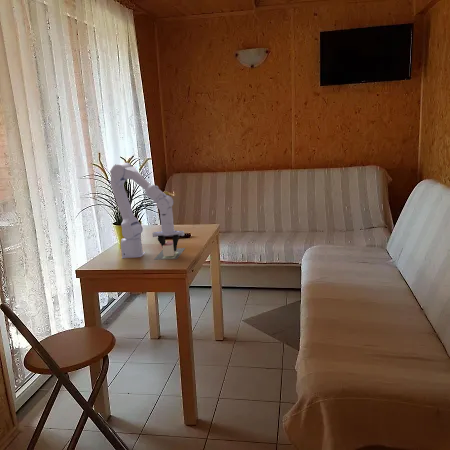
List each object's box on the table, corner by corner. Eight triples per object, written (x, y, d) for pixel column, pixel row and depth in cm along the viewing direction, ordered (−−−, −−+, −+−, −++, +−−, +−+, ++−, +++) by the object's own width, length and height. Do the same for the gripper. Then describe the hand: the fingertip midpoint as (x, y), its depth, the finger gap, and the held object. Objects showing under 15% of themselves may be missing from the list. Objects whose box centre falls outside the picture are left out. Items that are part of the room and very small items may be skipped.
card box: (167, 251, 211) (166, 241, 210) (177, 251, 210) (176, 240, 209) (163, 256, 203) (162, 245, 202) (173, 256, 202) (172, 245, 201)
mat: (153, 260, 202) (153, 259, 202) (163, 249, 219) (163, 248, 219) (177, 259, 200) (177, 258, 200) (185, 248, 218) (185, 247, 218)
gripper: (149, 225, 200) (152, 254, 203) (180, 223, 198) (183, 253, 201) (153, 221, 207) (156, 249, 210) (184, 220, 205) (186, 248, 208)
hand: (170, 251), depth 206 cm, fingers closed on card box, 4 cm apart
